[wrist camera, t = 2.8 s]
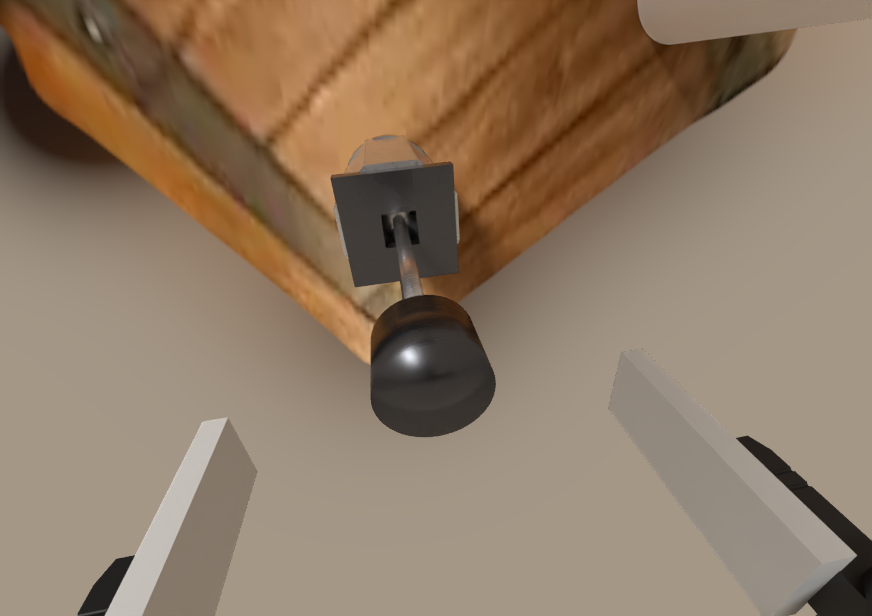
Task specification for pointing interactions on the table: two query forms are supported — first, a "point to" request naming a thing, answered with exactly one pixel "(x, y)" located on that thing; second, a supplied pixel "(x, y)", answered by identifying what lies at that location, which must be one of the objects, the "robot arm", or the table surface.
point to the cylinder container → (741, 17)
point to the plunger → (425, 353)
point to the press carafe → (396, 210)
